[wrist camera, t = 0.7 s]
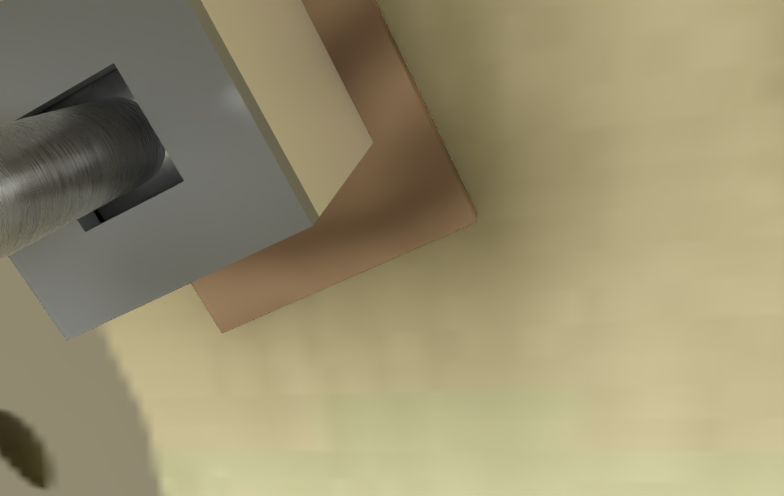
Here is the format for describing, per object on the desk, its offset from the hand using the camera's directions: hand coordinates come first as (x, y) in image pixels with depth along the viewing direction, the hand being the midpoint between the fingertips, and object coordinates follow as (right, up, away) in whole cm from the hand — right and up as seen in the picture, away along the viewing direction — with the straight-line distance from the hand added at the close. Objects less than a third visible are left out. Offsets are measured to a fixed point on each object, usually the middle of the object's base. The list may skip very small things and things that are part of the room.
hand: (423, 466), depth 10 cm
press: (-9, +12, +24) cm, 28 cm away
